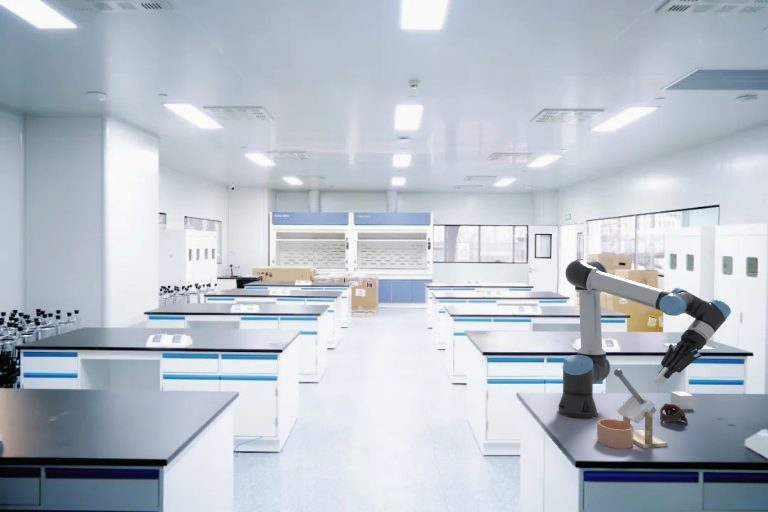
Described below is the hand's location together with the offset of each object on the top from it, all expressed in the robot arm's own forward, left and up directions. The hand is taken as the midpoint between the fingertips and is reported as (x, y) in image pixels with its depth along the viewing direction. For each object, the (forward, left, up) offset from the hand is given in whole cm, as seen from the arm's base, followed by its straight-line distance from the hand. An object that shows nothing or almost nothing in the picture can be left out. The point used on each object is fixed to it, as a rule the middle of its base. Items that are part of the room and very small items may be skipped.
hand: (657, 383), depth 173 cm
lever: (-4, -4, -12) cm, 13 cm away
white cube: (+2, +49, -21) cm, 53 cm away
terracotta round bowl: (-11, -13, -21) cm, 27 cm away
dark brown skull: (+2, +25, -21) cm, 32 cm away
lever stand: (-4, -4, -21) cm, 21 cm away
